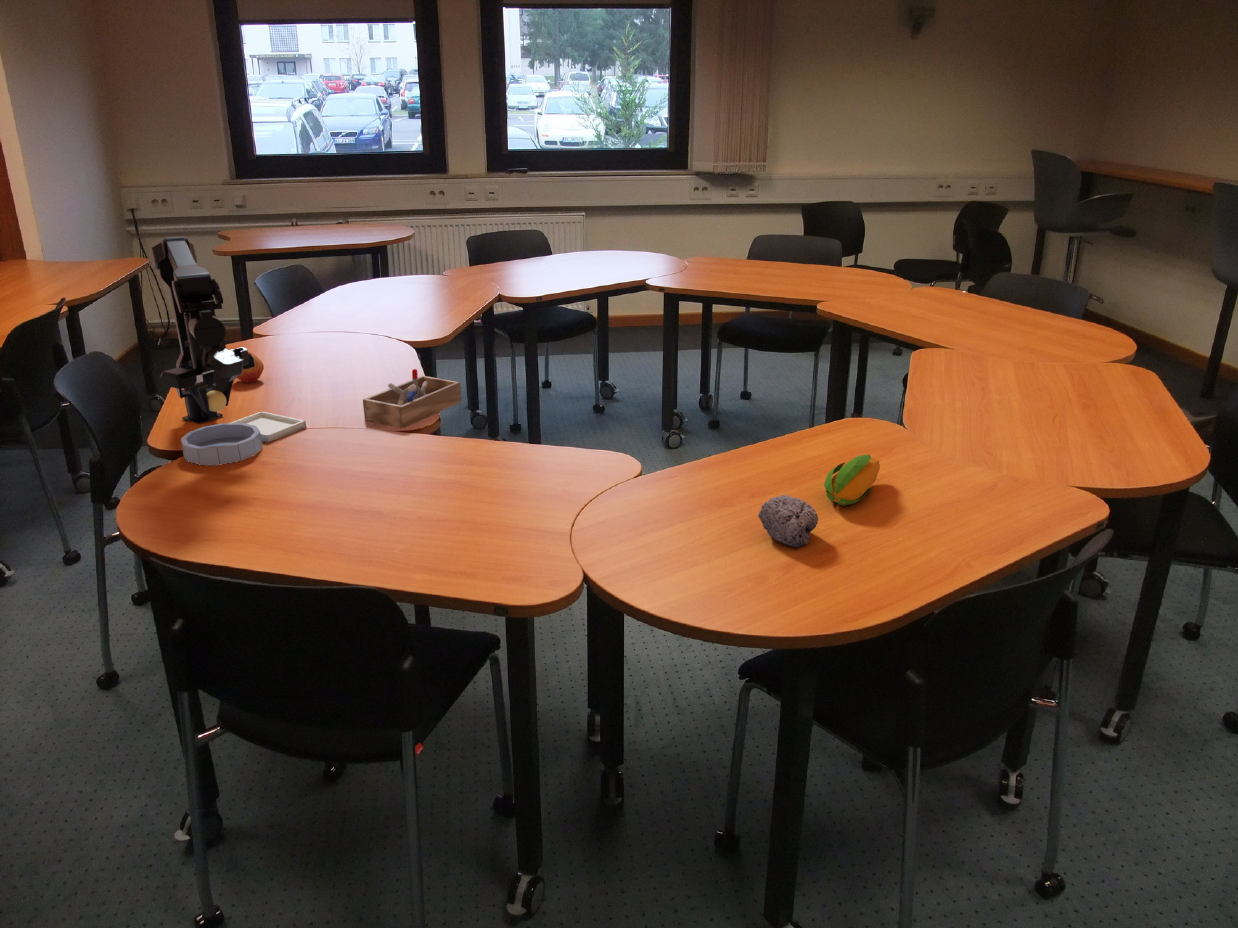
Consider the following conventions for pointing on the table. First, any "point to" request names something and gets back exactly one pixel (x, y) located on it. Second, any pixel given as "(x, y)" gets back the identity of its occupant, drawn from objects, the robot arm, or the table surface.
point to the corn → (852, 480)
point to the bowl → (221, 443)
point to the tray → (273, 425)
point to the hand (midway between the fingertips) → (216, 408)
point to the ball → (216, 400)
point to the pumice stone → (788, 520)
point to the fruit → (252, 371)
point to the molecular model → (410, 389)
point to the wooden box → (412, 402)
